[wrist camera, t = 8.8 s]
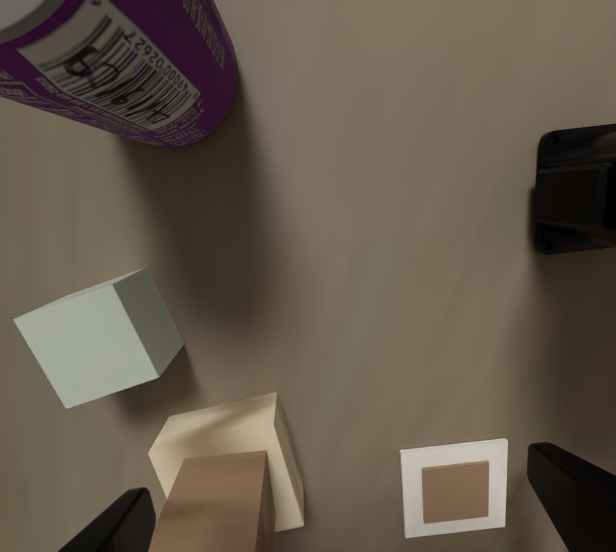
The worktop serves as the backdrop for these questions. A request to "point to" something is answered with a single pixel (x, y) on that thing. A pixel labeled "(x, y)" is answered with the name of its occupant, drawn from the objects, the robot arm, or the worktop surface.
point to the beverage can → (121, 65)
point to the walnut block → (219, 506)
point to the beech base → (236, 448)
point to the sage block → (103, 338)
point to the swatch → (454, 487)
